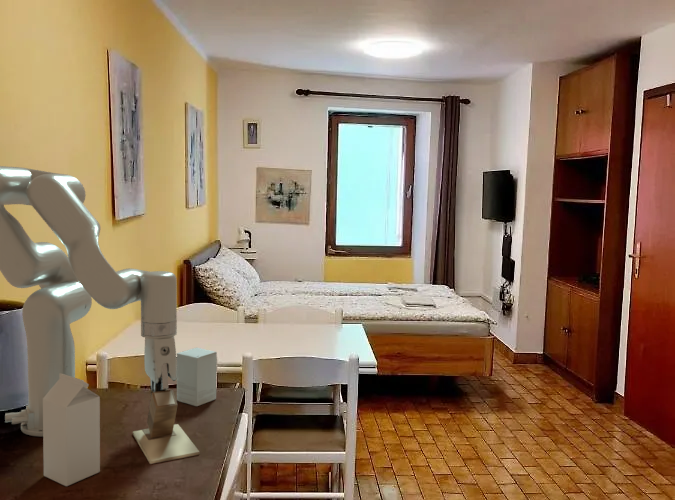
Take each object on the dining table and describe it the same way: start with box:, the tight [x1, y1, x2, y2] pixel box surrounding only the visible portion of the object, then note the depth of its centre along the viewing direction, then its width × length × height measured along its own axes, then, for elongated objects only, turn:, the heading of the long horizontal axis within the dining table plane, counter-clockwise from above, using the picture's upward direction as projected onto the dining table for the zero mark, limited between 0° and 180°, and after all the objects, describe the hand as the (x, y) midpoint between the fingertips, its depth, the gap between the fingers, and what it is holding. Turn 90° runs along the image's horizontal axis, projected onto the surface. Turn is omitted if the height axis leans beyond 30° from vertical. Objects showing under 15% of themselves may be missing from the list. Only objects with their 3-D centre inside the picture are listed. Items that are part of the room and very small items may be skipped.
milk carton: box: [42, 373, 101, 487], centre depth 113 cm, size 7×7×19 cm
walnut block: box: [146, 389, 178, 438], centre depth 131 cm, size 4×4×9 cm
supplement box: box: [176, 347, 218, 407], centre depth 155 cm, size 7×7×13 cm
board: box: [132, 423, 201, 465], centre depth 129 cm, size 10×16×1 cm, turn 30°
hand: (159, 408), depth 134 cm, fingers closed
